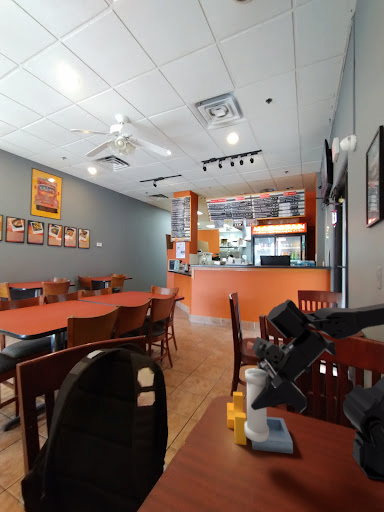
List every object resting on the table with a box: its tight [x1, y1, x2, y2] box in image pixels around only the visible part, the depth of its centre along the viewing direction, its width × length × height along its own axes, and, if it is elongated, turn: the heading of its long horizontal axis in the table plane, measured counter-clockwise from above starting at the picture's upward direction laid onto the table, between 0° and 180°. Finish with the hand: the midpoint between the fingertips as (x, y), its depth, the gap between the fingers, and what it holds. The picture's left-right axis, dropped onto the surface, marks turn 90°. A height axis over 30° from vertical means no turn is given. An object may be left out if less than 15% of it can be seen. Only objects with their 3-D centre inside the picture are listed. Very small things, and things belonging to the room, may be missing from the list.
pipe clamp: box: [226, 391, 247, 446], centre depth 64 cm, size 12×4×6 cm, turn 173°
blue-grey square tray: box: [250, 416, 294, 455], centre depth 60 cm, size 9×9×2 cm
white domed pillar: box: [244, 367, 269, 442], centre depth 53 cm, size 5×5×13 cm
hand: (250, 402), depth 53 cm, fingers closed on white domed pillar, 4 cm apart
